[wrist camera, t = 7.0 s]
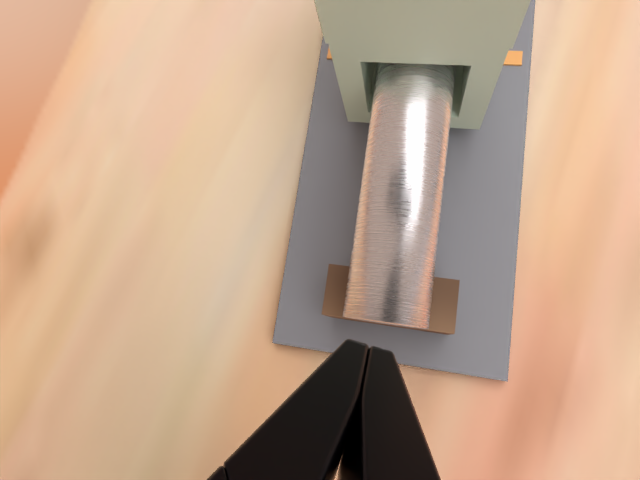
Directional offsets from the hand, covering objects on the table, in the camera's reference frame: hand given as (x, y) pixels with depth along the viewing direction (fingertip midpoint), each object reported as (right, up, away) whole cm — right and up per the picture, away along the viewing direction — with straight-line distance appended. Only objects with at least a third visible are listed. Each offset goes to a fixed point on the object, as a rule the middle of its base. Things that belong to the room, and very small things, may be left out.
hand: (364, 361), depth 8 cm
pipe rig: (+4, +7, +14) cm, 16 cm away
